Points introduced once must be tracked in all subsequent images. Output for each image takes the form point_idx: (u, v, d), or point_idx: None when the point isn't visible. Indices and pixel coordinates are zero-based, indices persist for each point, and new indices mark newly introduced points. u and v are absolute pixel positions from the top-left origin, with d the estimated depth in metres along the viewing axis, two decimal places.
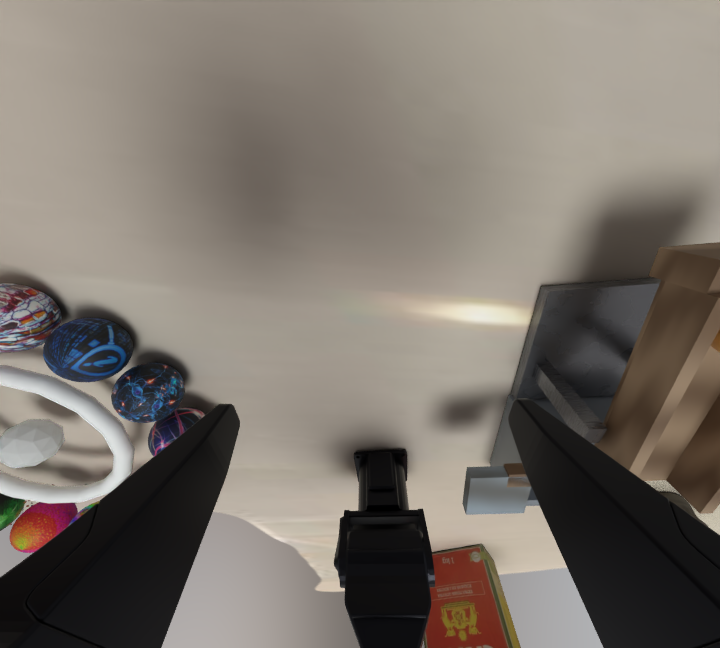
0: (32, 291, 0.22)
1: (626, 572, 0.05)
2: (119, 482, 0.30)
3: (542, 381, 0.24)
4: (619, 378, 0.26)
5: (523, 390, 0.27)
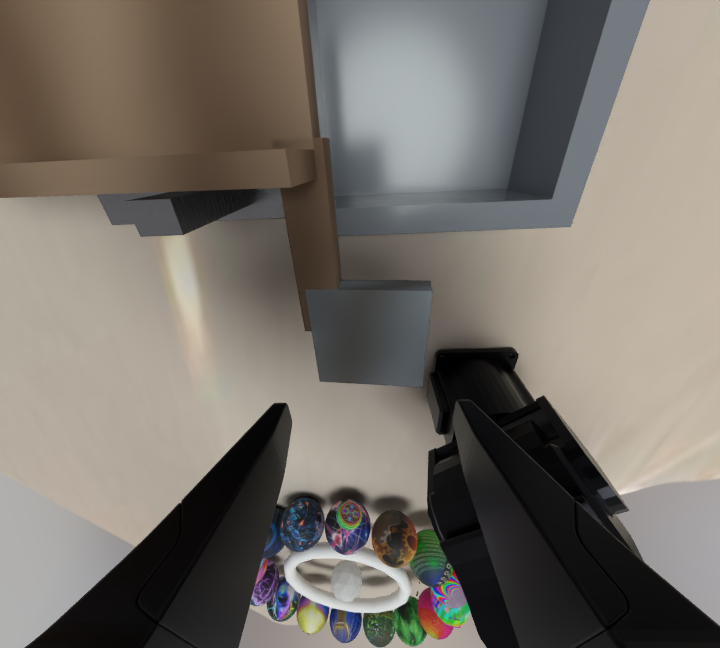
0: None
1: (530, 572, 0.05)
2: (392, 571, 0.35)
3: None
4: None
5: None
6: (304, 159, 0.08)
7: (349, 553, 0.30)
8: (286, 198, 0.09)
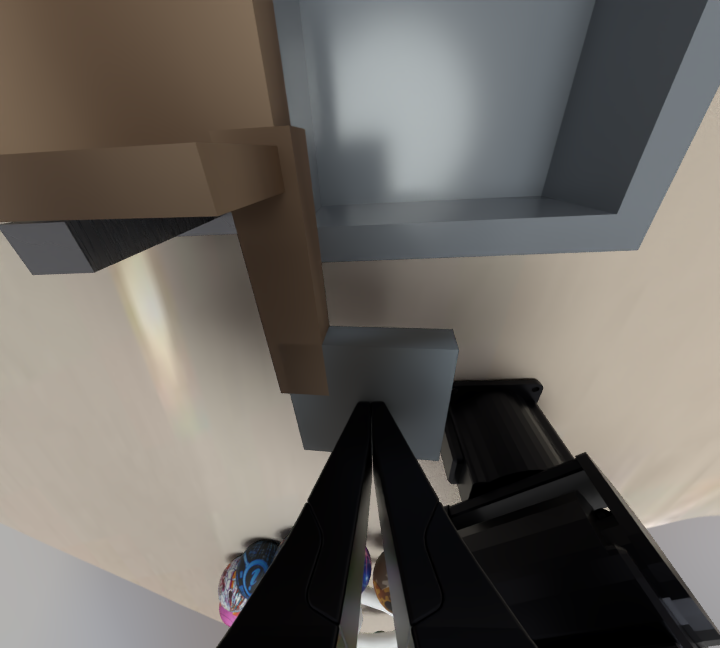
0: (229, 565, 0.35)
1: (392, 571, 0.05)
2: None
3: None
4: None
5: None
6: (254, 162, 0.04)
7: None
8: (240, 220, 0.06)
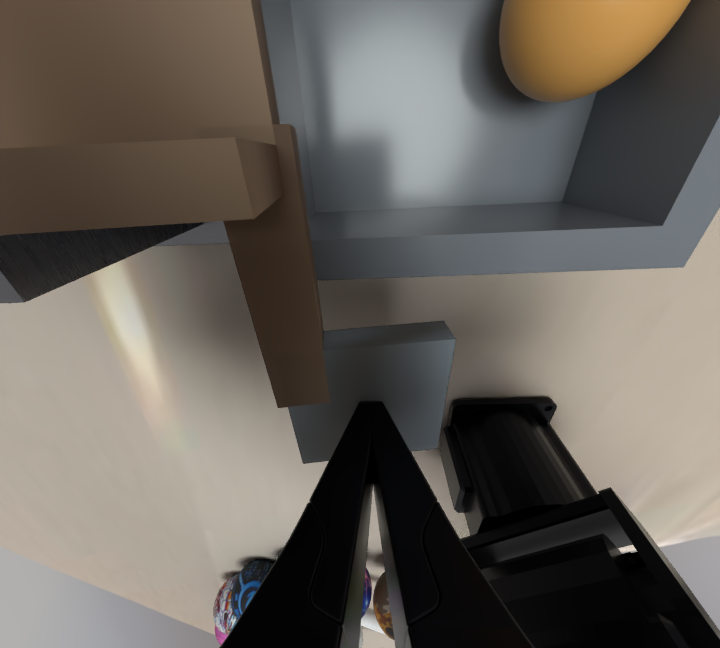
0: (224, 584, 0.34)
1: (390, 571, 0.05)
2: None
3: None
4: None
5: None
6: (266, 161, 0.04)
7: None
8: (233, 226, 0.06)
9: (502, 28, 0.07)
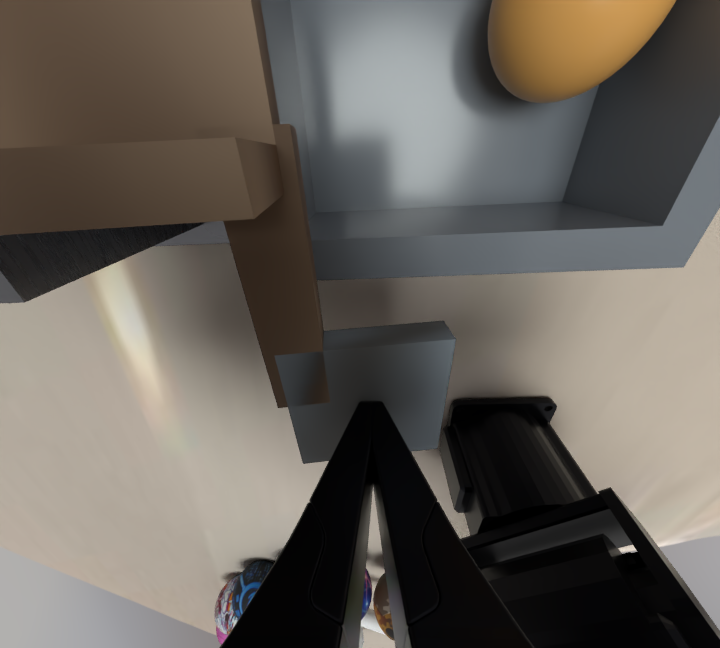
0: (226, 585, 0.34)
1: (390, 571, 0.05)
2: None
3: None
4: None
5: None
6: (266, 161, 0.04)
7: None
8: (233, 226, 0.06)
9: None
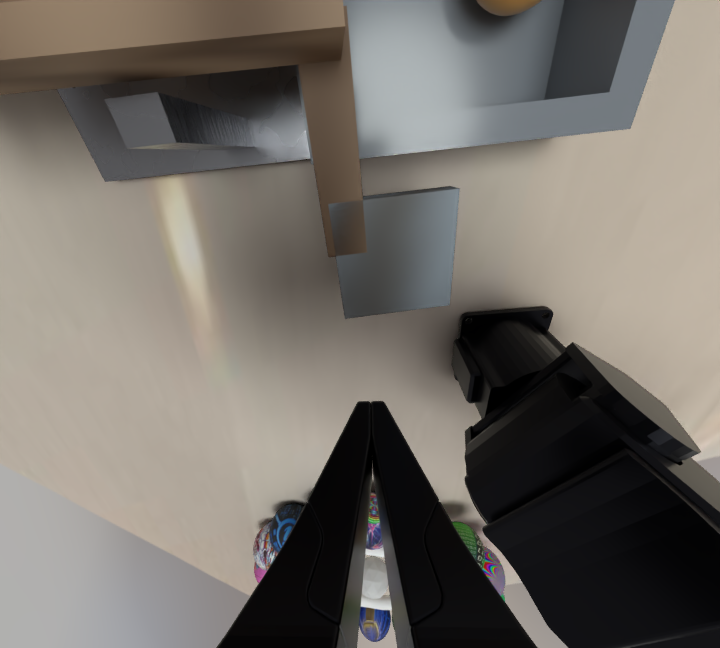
0: (261, 529, 0.38)
1: (392, 571, 0.05)
2: None
3: (227, 148, 0.13)
4: None
5: (290, 150, 0.14)
6: None
7: (375, 547, 0.29)
8: (306, 87, 0.08)
9: None
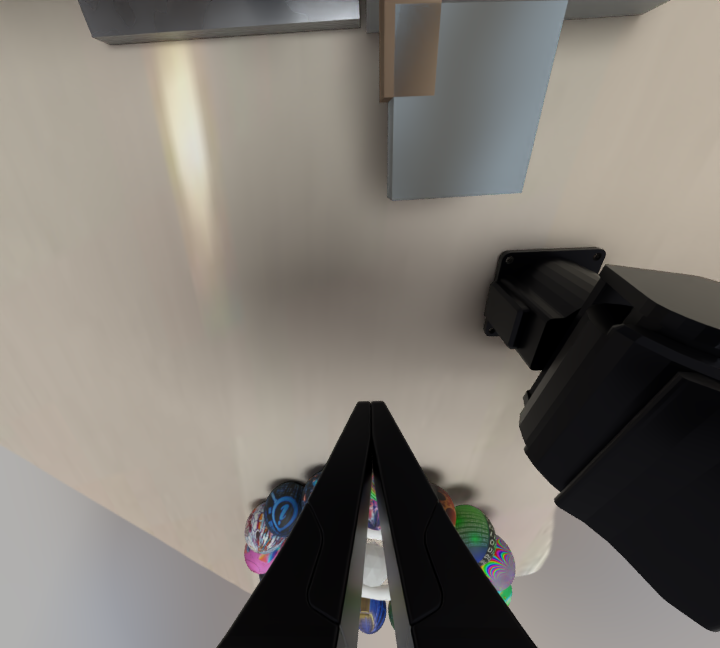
0: (254, 509, 0.35)
1: (392, 571, 0.05)
2: None
3: None
4: None
5: (327, 4, 0.12)
6: None
7: None
8: None
9: None
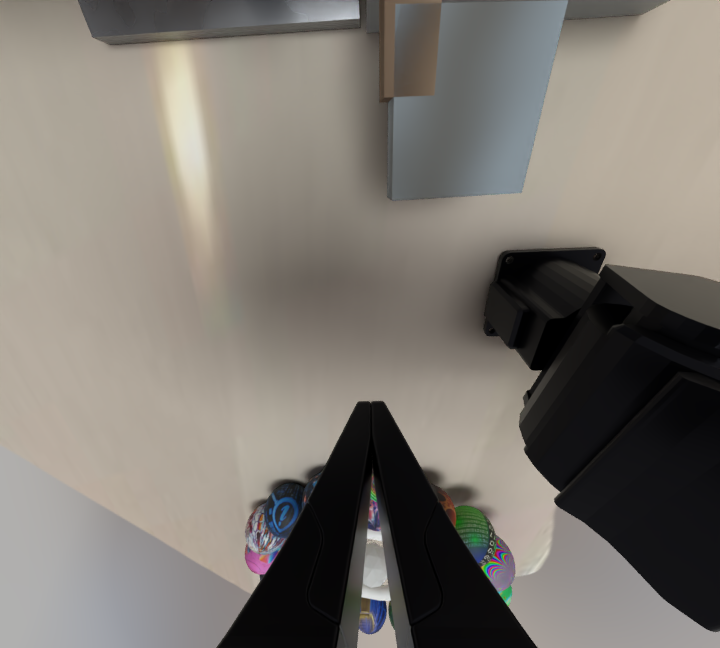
0: (255, 510, 0.35)
1: (392, 571, 0.05)
2: None
3: None
4: None
5: (327, 4, 0.12)
6: None
7: None
8: None
9: None
